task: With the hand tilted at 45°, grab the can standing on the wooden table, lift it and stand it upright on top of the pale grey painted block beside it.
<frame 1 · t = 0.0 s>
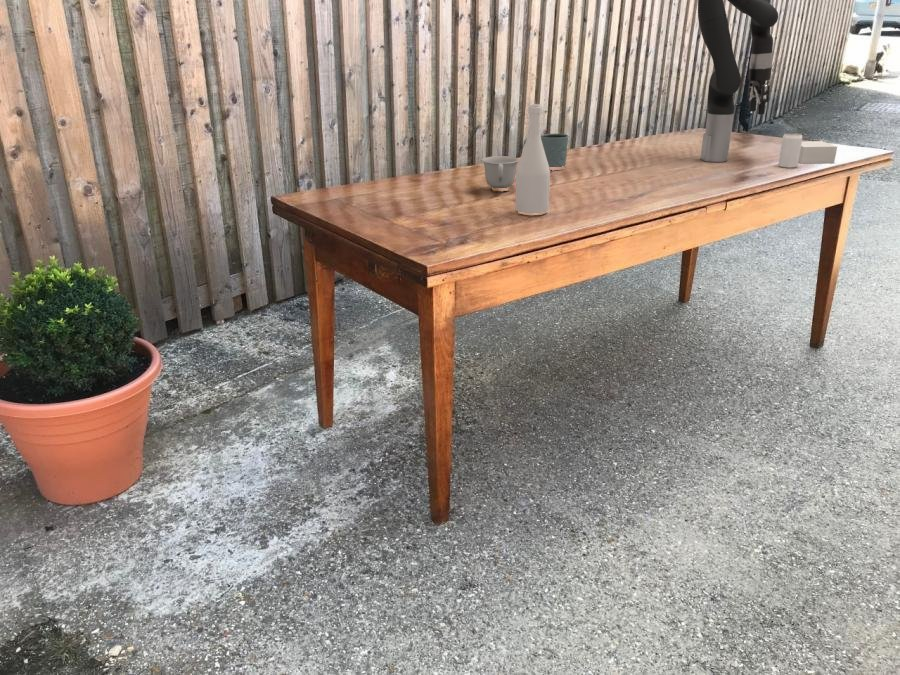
hand: (756, 112, 268), 17 cm above the table, tool pointing down, fingers open, 8 cm apart
can: (787, 167, 262), on the table
green cup: (552, 169, 266), on the table
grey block: (810, 160, 272), on the table
wine bottle: (531, 213, 208), on the table
teacup: (500, 191, 234), on the table
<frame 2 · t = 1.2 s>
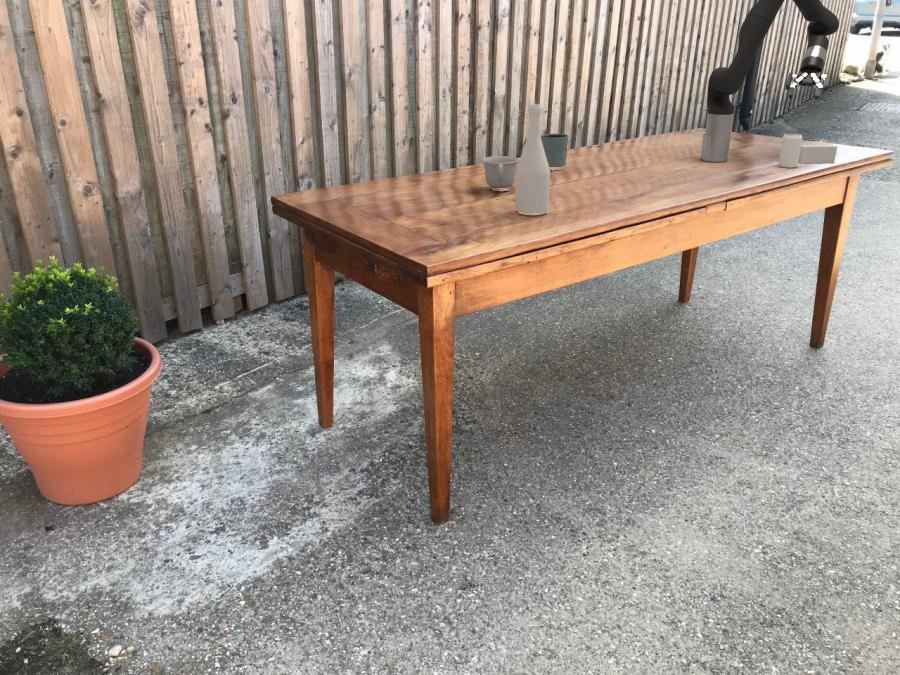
hand: (803, 98, 262), 23 cm above the table, tool tilted 45°, fingers open, 8 cm apart
nothing on the table moved.
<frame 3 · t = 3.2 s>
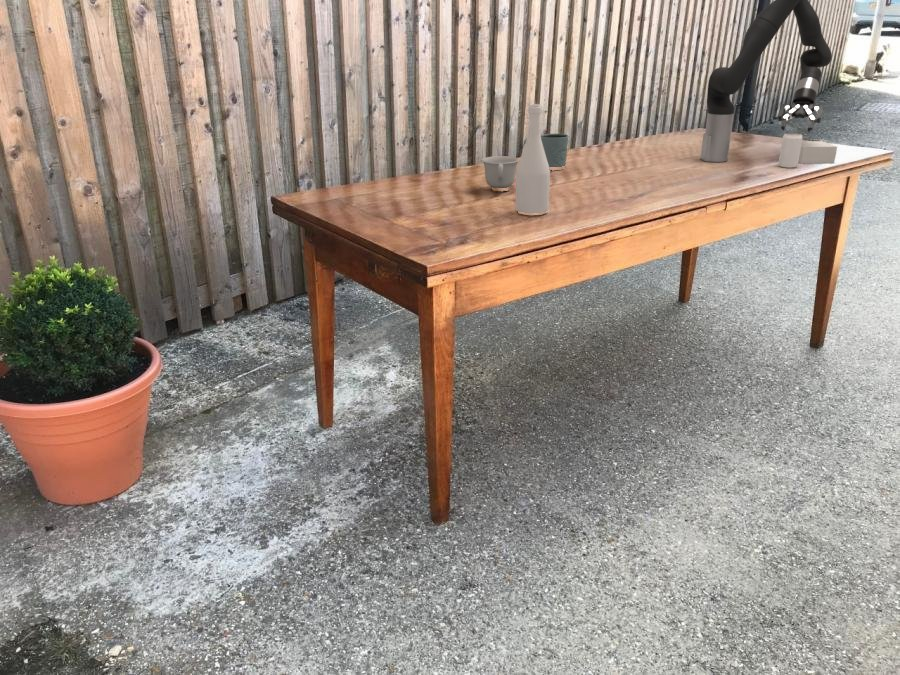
hand: (795, 129, 262), 12 cm above the table, tool tilted 45°, fingers open, 8 cm apart
nothing on the table moved.
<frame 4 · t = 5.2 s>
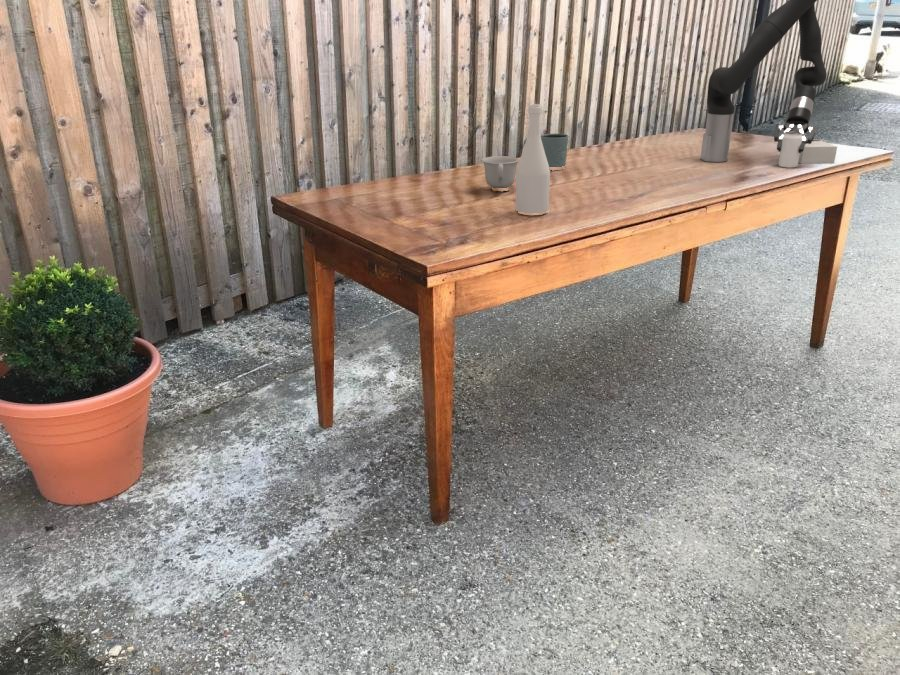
hand: (789, 150, 258), 6 cm above the table, tool tilted 45°, fingers open, 6 cm apart
can: (787, 167, 262), on the table, touching gripper
everything else where it was.
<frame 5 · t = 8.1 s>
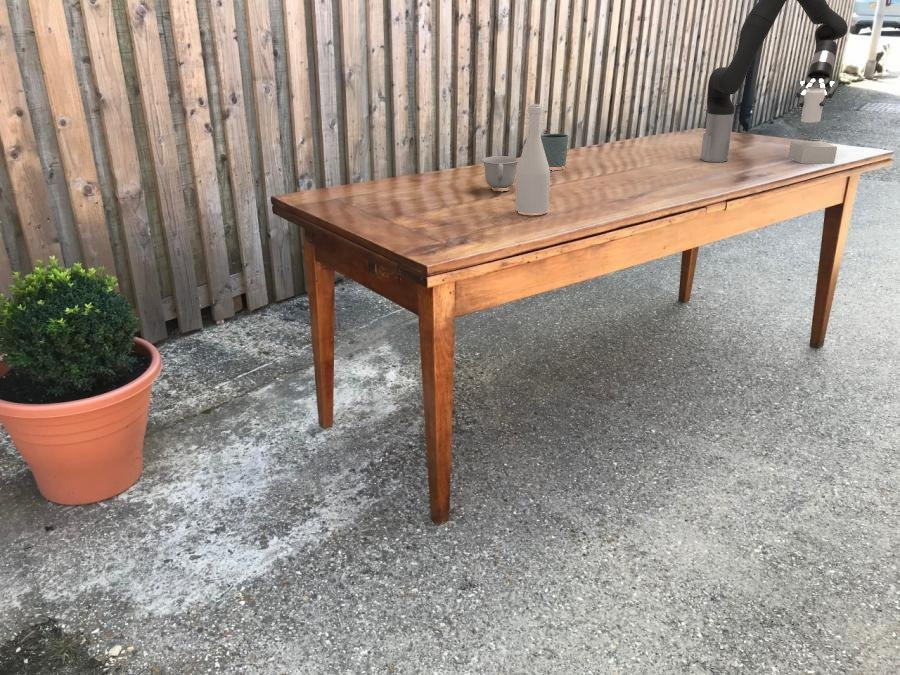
hand: (811, 105, 258), 21 cm above the table, tool tilted 45°, fingers closed on can, 5 cm apart
can: (810, 122, 261), point 15 cm above the table, touching gripper
everything else where it was.
when the fingers open (13 cm above the table, at t = 10.8 s): can moves 2 cm, resting on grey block.
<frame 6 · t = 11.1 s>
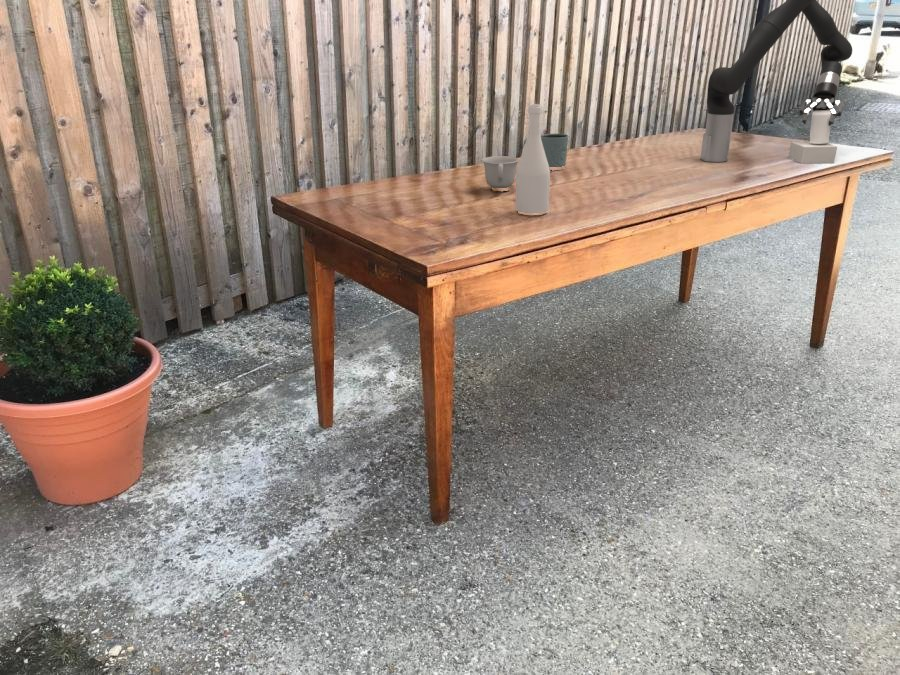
hand: (817, 123, 265), 14 cm above the table, tool tilted 45°, fingers open, 8 cm apart
can: (818, 143, 269), point 6 cm above the table, touching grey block
everything else where it was.
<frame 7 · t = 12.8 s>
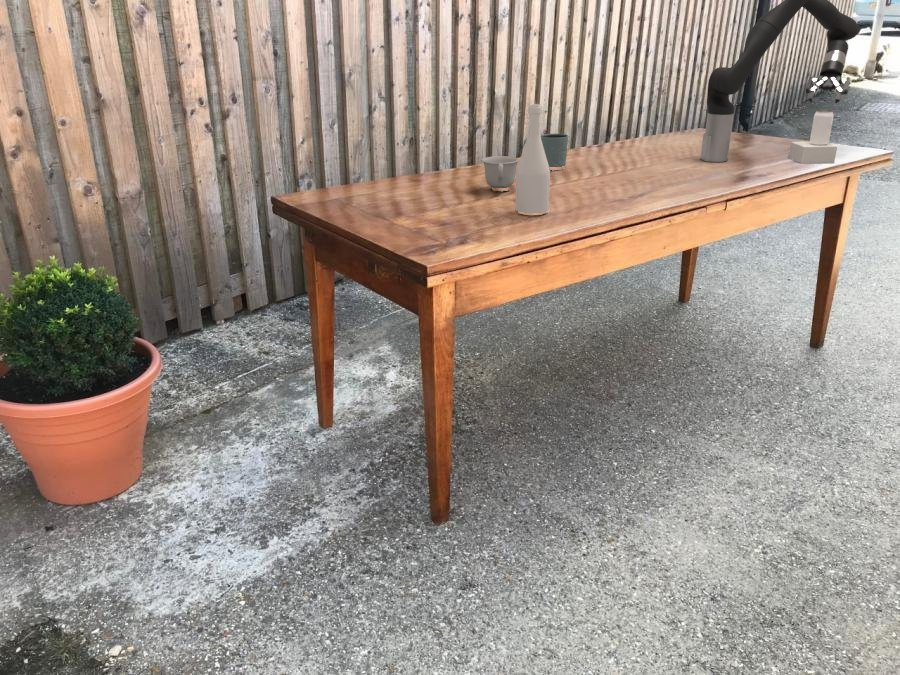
hand: (823, 101, 268), 21 cm above the table, tool tilted 45°, fingers open, 8 cm apart
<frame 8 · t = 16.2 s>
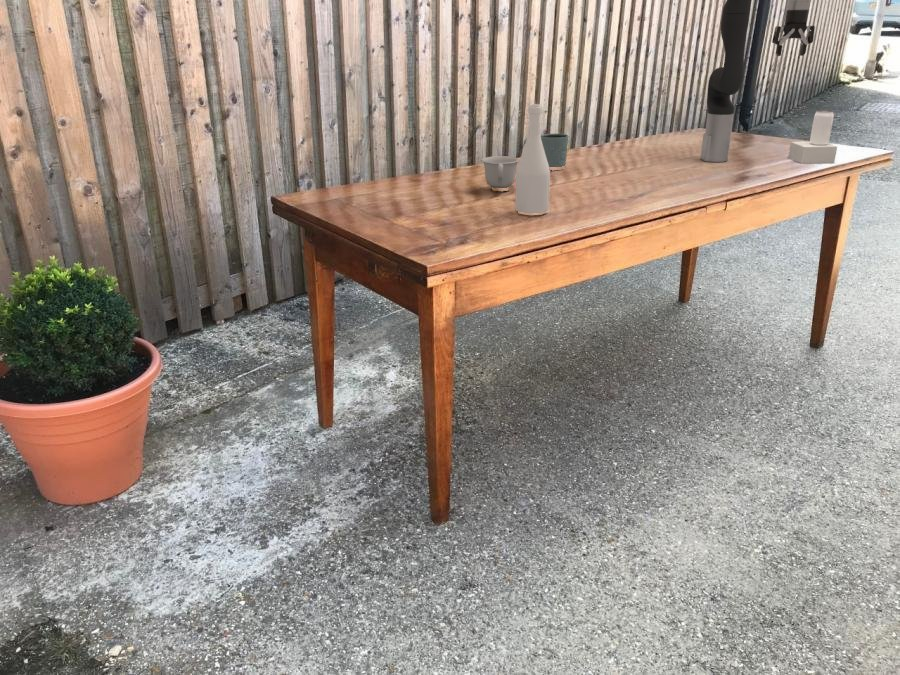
hand: (790, 55, 273), 36 cm above the table, tool pointing down, fingers open, 8 cm apart
nothing on the table moved.
at the end: can inside the target area on the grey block (1.8 cm from its centre), point 5.8 cm above the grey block's base; can tilted 0°; the gripper is holding nothing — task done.
